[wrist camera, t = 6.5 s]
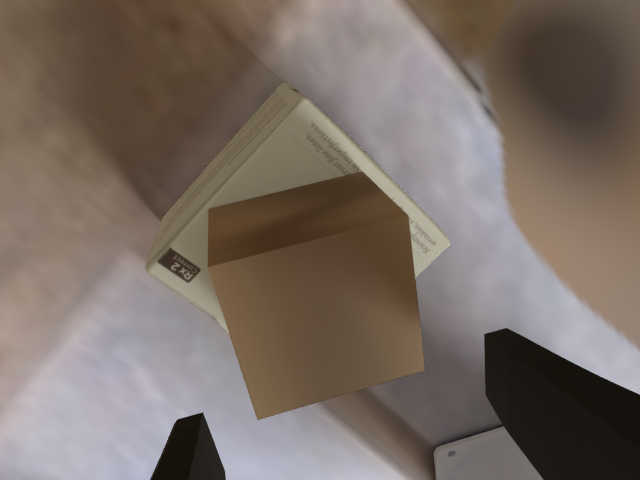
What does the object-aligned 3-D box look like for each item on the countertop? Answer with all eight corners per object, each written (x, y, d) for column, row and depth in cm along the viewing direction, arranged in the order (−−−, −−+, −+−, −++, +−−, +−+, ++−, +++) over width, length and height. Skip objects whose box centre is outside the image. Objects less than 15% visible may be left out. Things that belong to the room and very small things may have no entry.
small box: (407, 200, 22) (458, 246, 17) (290, 316, 23) (308, 388, 18) (283, 74, 18) (306, 90, 14) (154, 218, 20) (136, 276, 15)
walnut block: (362, 171, 15) (408, 215, 12) (380, 299, 17) (424, 370, 14) (208, 208, 15) (207, 267, 11) (247, 336, 17) (258, 419, 13)
